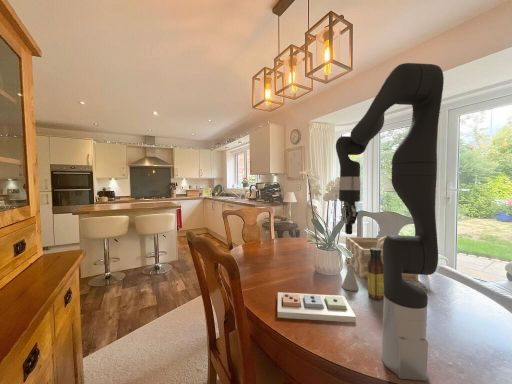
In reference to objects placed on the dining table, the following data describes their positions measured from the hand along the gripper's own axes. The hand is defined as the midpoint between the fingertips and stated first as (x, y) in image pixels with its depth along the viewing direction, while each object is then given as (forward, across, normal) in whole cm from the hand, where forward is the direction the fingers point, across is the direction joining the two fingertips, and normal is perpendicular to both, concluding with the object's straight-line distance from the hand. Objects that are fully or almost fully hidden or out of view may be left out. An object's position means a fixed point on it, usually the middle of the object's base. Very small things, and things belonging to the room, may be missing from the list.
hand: (348, 233), depth 87 cm
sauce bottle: (+27, +6, -13) cm, 31 cm away
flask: (+27, +13, -5) cm, 31 cm away
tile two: (+27, -6, +14) cm, 31 cm away
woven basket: (+27, +38, -27) cm, 54 cm away
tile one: (+27, -6, +6) cm, 28 cm away
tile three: (+27, -6, +22) cm, 35 cm away
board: (+27, -6, +14) cm, 31 cm away
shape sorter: (+27, +36, -29) cm, 54 cm away
